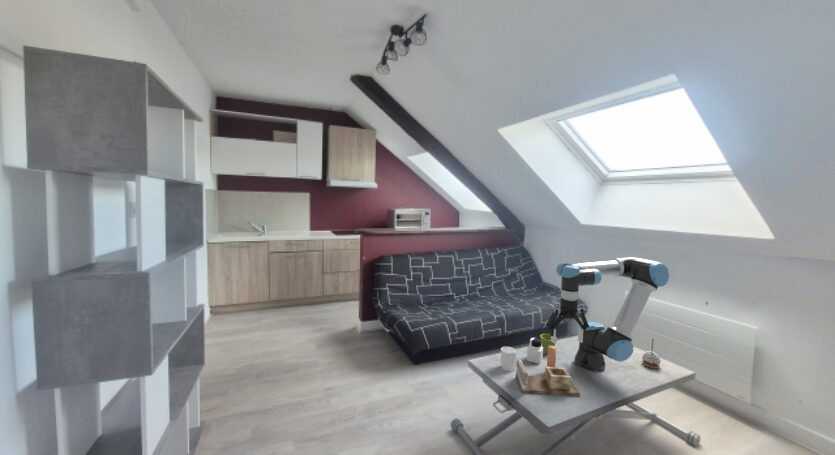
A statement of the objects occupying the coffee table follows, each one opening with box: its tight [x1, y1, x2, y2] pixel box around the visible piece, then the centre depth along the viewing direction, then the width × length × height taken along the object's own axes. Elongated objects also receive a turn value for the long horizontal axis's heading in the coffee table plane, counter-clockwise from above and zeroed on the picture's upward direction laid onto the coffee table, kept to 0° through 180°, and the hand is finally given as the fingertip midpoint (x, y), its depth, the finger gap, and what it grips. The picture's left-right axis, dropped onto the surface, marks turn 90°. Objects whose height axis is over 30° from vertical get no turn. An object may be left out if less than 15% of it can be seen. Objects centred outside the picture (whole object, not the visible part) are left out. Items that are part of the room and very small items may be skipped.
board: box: [515, 359, 581, 397], centre depth 162 cm, size 26×13×10 cm, turn 87°
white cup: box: [500, 346, 517, 372], centre depth 179 cm, size 8×8×10 cm
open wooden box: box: [544, 366, 572, 390], centre depth 162 cm, size 9×9×6 cm
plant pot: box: [539, 333, 558, 354], centre depth 200 cm, size 9×9×9 cm
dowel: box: [546, 346, 557, 367], centre depth 176 cm, size 4×4×13 cm
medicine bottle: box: [526, 337, 544, 365], centre depth 189 cm, size 7×7×12 cm
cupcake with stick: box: [641, 338, 662, 369], centre depth 186 cm, size 8×8×15 cm
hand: (566, 341), depth 162 cm, fingers open, 13 cm apart
